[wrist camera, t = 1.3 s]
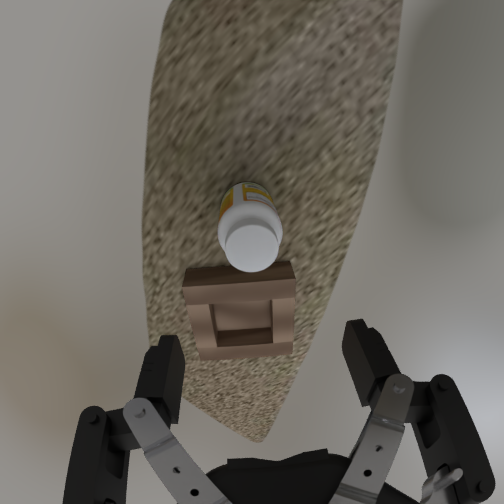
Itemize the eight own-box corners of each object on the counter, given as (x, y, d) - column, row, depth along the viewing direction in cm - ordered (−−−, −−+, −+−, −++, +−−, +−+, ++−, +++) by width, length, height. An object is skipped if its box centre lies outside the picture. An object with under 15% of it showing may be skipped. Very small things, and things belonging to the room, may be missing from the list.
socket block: (186, 269, 33) (181, 287, 29) (289, 261, 33) (295, 278, 30) (202, 341, 38) (200, 360, 35) (288, 335, 39) (292, 353, 35)
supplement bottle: (232, 236, 31) (231, 289, 23) (213, 192, 29) (203, 231, 20) (279, 220, 30) (296, 267, 22) (263, 173, 28) (275, 204, 19)
